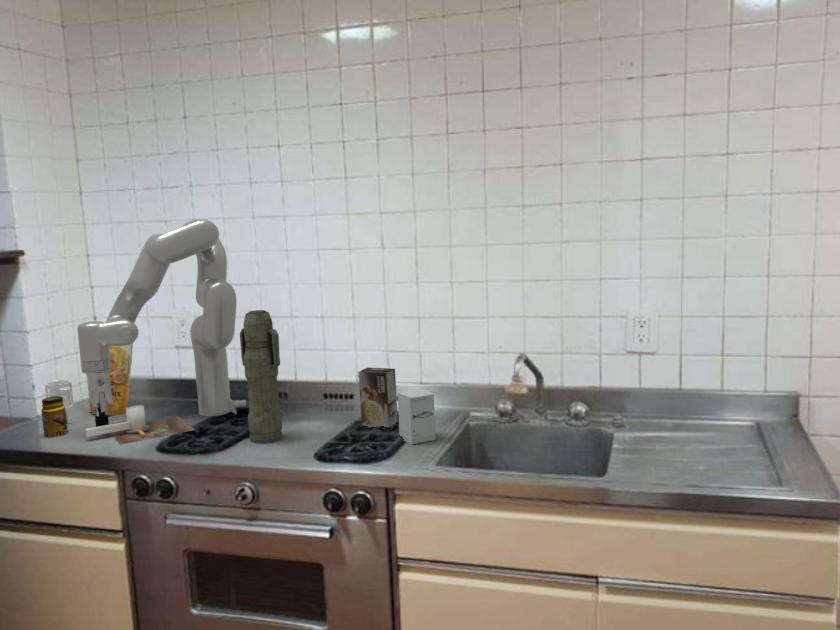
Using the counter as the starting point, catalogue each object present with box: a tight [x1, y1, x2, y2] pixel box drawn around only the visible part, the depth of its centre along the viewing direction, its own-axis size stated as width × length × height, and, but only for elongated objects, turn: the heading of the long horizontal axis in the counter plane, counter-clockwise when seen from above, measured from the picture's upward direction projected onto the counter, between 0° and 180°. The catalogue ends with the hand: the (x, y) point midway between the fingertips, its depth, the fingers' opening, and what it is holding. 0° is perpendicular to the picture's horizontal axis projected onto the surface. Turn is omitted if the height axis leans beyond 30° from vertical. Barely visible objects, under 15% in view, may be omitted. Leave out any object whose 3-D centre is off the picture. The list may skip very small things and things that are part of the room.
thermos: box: [239, 309, 283, 444], centre depth 192 cm, size 9×12×35 cm
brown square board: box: [110, 416, 196, 445], centre depth 202 cm, size 20×18×2 cm
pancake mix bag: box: [85, 342, 134, 417], centre depth 226 cm, size 7×19×28 cm, turn 69°
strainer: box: [44, 378, 75, 425], centre depth 212 cm, size 7×7×15 cm
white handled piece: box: [85, 404, 149, 437], centre depth 196 cm, size 16×11×7 cm
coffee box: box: [357, 367, 399, 428], centre depth 201 cm, size 9×6×16 cm
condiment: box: [40, 396, 69, 438], centre depth 201 cm, size 7×8×12 cm
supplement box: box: [397, 388, 436, 446], centre depth 187 cm, size 7×7×13 cm
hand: (102, 429), depth 201 cm, fingers closed
